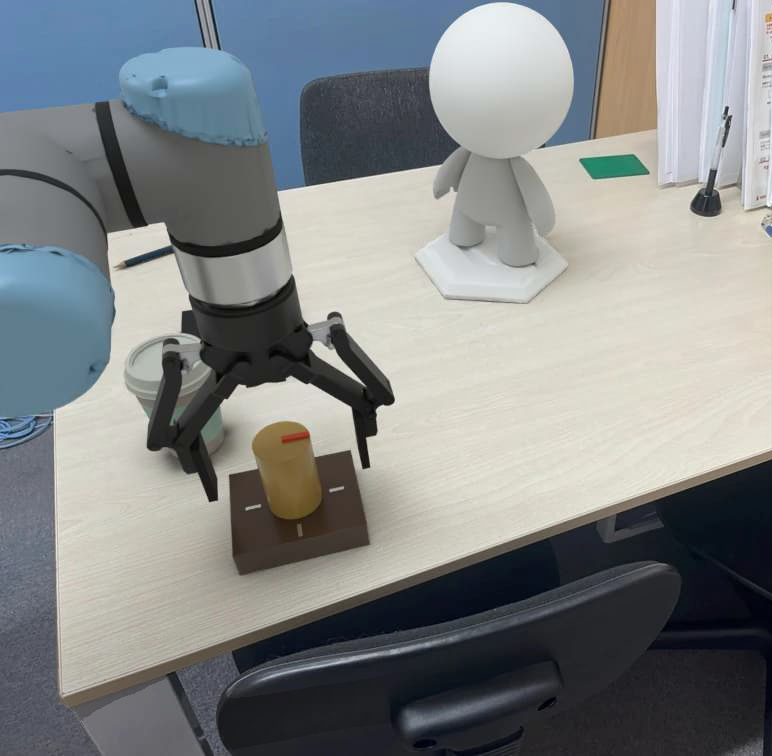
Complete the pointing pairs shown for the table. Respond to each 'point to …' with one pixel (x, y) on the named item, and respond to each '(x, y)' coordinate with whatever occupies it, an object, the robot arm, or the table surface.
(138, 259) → the pencil
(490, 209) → the big headed doll
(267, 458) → the lock knob
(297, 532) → the plate
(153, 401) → the coffee cup
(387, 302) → the table surface
